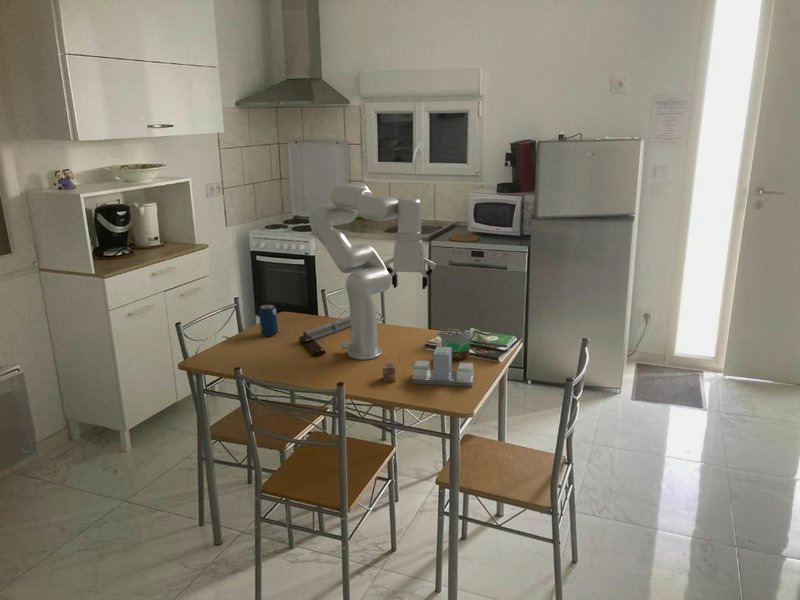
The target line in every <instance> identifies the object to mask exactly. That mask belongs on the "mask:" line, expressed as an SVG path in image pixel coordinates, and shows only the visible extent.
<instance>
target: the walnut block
mask: <svg viewBox="0 0 800 600" xmlns="http://www.w3.org/2000/svg"><path fill="white" fill-rule="evenodd" d="M382 382H383V383H393V382H394V383H396V365H395V363H382Z"/></svg>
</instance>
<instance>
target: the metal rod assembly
mask: <svg viewBox="0 0 800 600" xmlns="http://www.w3.org/2000/svg"><path fill="white" fill-rule="evenodd" d="M348 328H351V321H350V316H346V317H344V318H341V319H337V320H333V321H330V322H329V323H326V324H323V325H320V326H317V327H315V328H312V329H309V330H305V331H304V332H303V333H302V335H303V337H304V338H306V337H309V336H311V337H312V338H313V339H315V340H319V339H321V338H323V337H327V336H328V335H329V336H330V335H332V334H336V333H338V332H341V331H342V330H345V329H348ZM305 336H306V337H305ZM315 340H314V341H315Z"/></svg>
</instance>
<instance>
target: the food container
mask: <svg viewBox="0 0 800 600" xmlns="http://www.w3.org/2000/svg"><path fill="white" fill-rule="evenodd" d="M473 336H474V333H473V330H472V329H471V330H470V331H459V330H457V331H456V330H455V331H449V332H446V331H445V332H444V331H442V330H441V329H440V331H439V333H438V337H439V338H440V339H441V340H440V341H441V347H452V362H453V361H454V362H455V361H457V362H459V361H465V360H467V359H468V358H469V357H470V351H471V350H470V348H471V341H472V338H473ZM468 356H469V357H468Z"/></svg>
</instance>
